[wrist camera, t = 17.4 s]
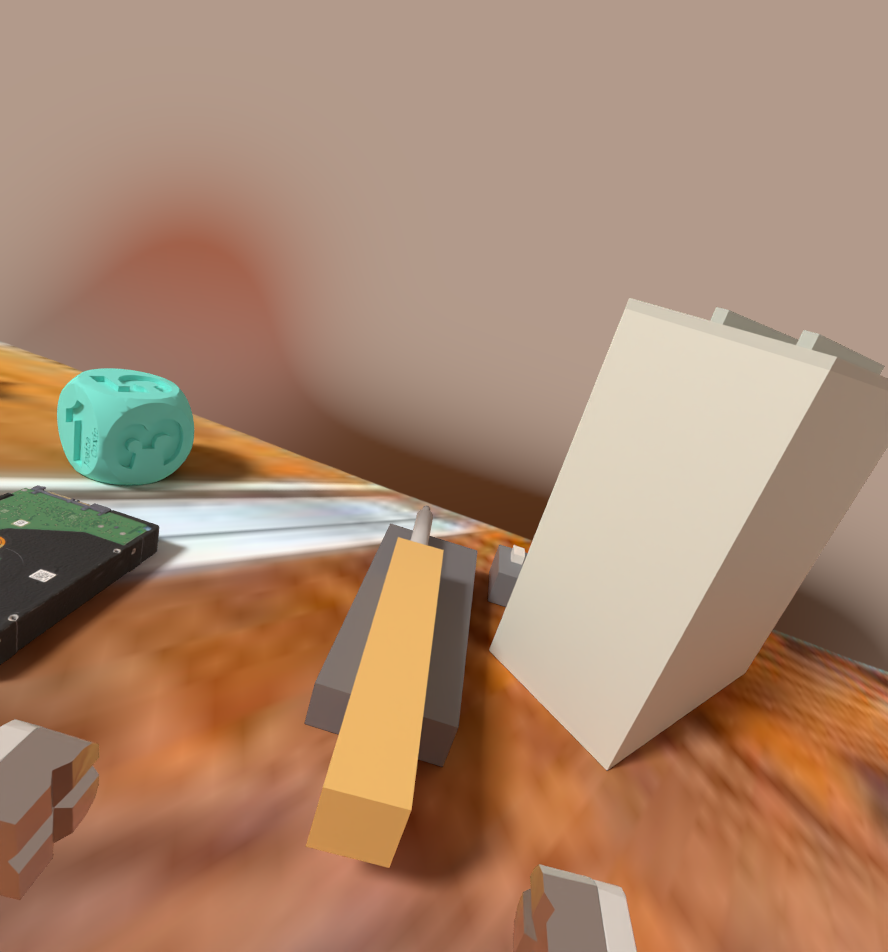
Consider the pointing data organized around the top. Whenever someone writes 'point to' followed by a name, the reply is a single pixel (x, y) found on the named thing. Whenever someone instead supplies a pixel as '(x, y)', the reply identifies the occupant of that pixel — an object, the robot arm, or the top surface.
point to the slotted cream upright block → (686, 517)
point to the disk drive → (60, 559)
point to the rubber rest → (445, 648)
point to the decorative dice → (124, 426)
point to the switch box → (505, 573)
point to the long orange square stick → (384, 713)
